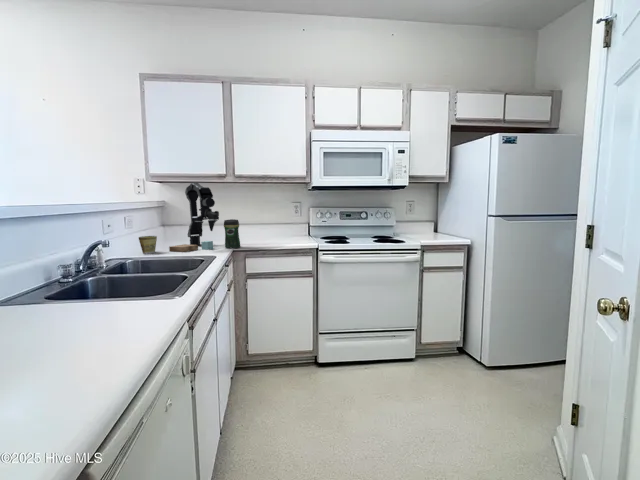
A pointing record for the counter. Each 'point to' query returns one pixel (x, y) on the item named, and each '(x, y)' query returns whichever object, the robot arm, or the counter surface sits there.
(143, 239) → the ceramic cup
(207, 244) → the teal cube
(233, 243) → the coffee jar
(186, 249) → the walnut plinth
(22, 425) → the counter surface
